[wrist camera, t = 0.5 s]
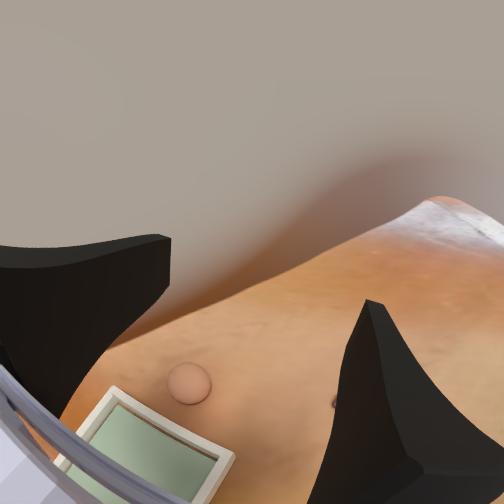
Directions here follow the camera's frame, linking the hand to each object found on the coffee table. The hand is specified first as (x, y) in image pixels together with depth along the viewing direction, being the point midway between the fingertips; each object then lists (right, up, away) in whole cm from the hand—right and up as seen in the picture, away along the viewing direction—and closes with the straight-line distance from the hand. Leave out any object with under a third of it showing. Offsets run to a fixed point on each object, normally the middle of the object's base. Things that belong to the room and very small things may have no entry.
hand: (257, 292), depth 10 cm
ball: (-6, -12, +17) cm, 22 cm away
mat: (-11, -19, +9) cm, 23 cm away
